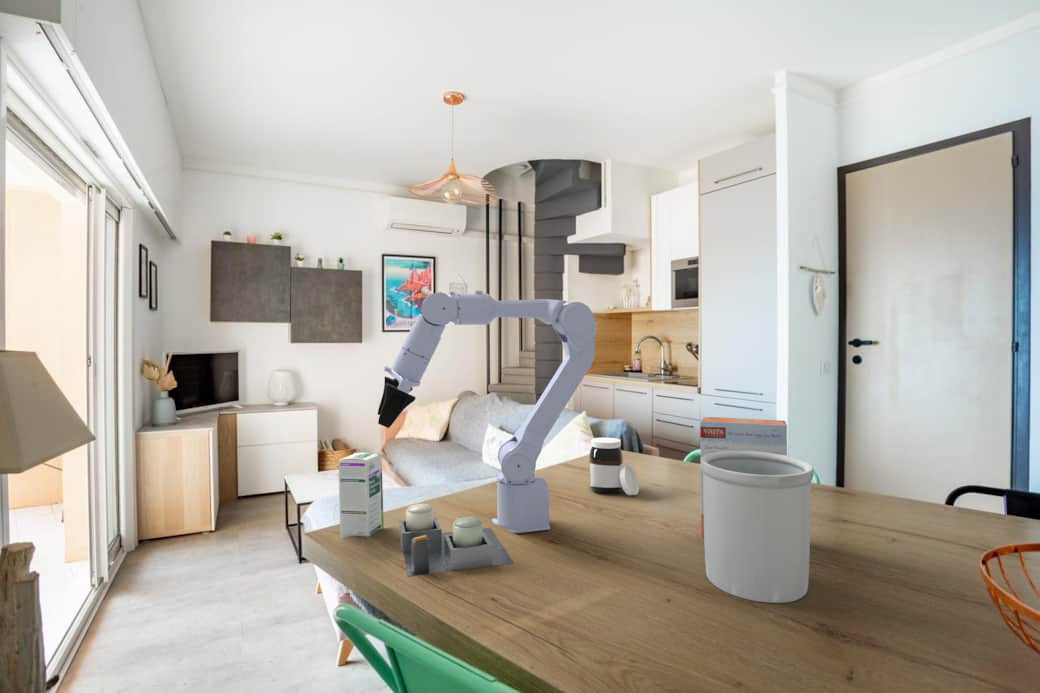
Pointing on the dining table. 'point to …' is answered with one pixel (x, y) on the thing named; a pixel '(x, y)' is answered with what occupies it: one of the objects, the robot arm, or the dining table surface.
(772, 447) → the cracker box
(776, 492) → the utensil holder
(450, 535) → the mount panel
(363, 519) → the syrup box
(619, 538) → the dining table surface
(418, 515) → the knob cream
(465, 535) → the knob sage
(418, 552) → the dial post
